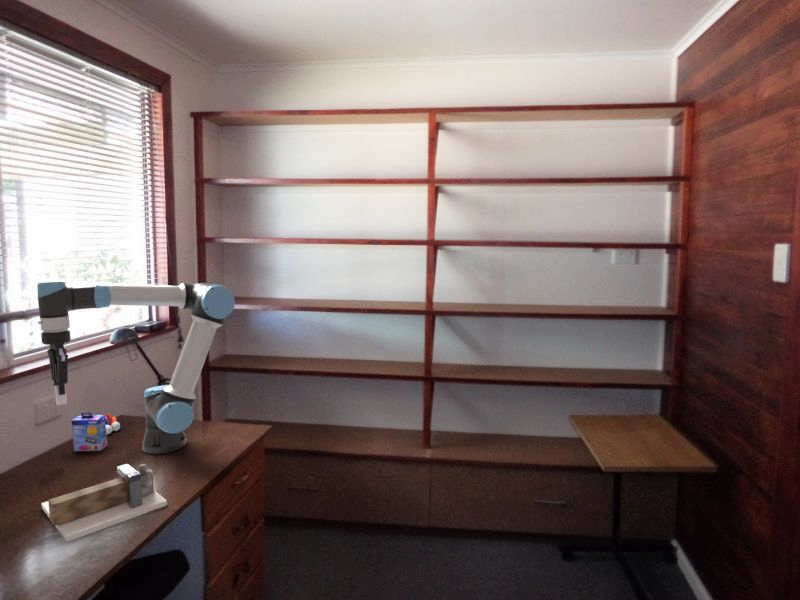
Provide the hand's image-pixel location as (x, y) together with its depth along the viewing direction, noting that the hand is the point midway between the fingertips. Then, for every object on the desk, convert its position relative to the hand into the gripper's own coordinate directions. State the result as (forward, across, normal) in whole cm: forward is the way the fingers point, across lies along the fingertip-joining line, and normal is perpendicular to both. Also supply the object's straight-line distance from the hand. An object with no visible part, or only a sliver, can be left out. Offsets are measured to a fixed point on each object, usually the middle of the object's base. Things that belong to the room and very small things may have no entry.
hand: (61, 403), depth 168 cm
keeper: (+26, +29, +9) cm, 40 cm away
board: (+26, +24, +3) cm, 36 cm away
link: (+24, +28, +2) cm, 37 cm away
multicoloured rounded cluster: (+27, -40, +24) cm, 54 cm away
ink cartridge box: (+27, -26, +14) cm, 40 cm away
